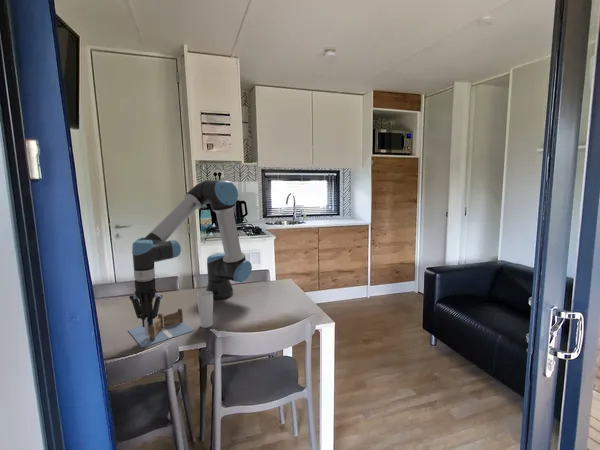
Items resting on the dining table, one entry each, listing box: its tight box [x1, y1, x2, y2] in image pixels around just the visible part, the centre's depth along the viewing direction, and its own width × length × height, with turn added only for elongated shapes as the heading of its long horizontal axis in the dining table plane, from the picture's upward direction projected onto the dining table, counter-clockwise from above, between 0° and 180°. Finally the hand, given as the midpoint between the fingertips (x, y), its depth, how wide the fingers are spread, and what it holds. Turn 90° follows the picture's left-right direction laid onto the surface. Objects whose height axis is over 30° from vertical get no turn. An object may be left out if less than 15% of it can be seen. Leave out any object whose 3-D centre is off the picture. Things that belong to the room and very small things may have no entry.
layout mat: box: [127, 319, 194, 349], centre depth 143 cm, size 19×21×1 cm
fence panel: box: [149, 313, 164, 341], centre depth 139 cm, size 13×2×6 cm, turn 6°
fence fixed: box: [163, 307, 184, 327], centre depth 148 cm, size 2×8×6 cm, turn 132°
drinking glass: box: [196, 290, 214, 329], centre depth 147 cm, size 7×7×15 cm
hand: (148, 334), depth 136 cm, fingers closed
